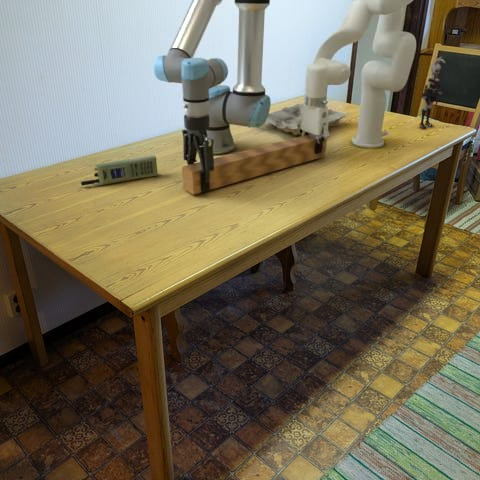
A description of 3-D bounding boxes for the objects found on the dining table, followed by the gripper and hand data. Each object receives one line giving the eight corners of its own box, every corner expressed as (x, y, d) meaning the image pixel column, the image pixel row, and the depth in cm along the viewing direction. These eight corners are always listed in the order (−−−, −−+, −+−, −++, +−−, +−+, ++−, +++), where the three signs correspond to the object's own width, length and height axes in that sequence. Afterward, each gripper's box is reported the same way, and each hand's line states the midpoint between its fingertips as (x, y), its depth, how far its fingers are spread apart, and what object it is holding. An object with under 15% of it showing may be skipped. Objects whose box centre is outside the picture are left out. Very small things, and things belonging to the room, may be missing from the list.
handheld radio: (158, 176, 170) (83, 189, 160) (155, 173, 172) (80, 186, 162) (156, 157, 167) (79, 169, 157) (153, 154, 169) (77, 166, 159)
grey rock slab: (245, 130, 217) (303, 143, 199) (245, 116, 214) (304, 128, 197) (296, 115, 242) (351, 125, 225) (297, 102, 239) (353, 111, 222)
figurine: (421, 131, 217) (435, 58, 202) (409, 128, 221) (422, 56, 206) (438, 124, 226) (453, 54, 211) (426, 121, 230) (440, 52, 215)
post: (313, 151, 190) (315, 132, 187) (325, 156, 186) (327, 136, 183) (183, 188, 160) (181, 166, 156) (193, 194, 156) (192, 172, 152)
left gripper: (168, 109, 153) (173, 180, 164) (204, 124, 140) (206, 200, 151) (189, 105, 157) (193, 174, 168) (226, 119, 144) (226, 194, 155)
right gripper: (341, 104, 172) (336, 154, 181) (305, 94, 184) (302, 142, 193) (325, 108, 168) (321, 159, 177) (290, 97, 180) (288, 146, 189)
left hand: (199, 186), depth 160 cm, fingers closed on post, 6 cm apart
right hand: (311, 150), depth 185 cm, fingers closed on post, 6 cm apart
